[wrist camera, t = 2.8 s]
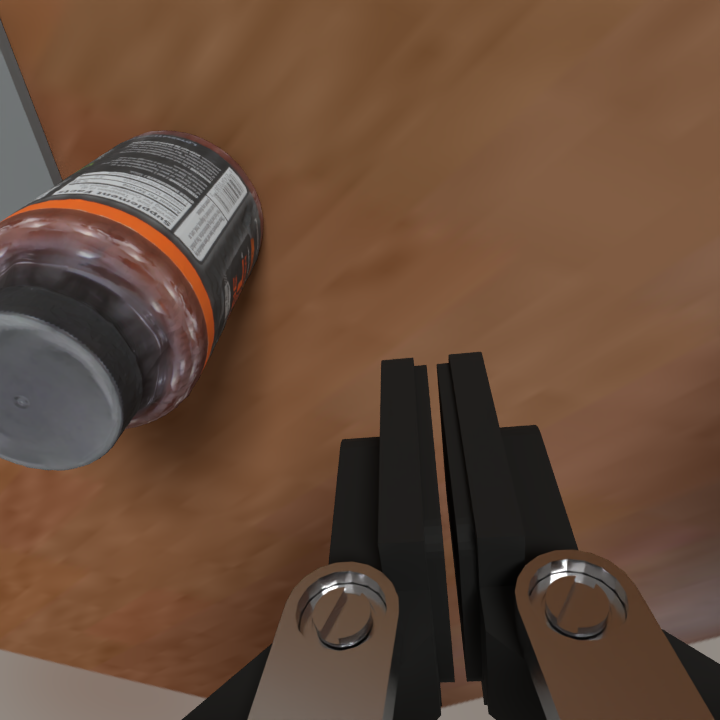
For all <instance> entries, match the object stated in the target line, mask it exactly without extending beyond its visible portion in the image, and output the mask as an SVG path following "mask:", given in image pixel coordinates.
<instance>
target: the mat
mask: <svg viewBox="0 0 720 720" xmlns="http://www.w3.org/2000/svg"><path fill="white" fill-rule="evenodd" d="M61 181H62V179H61V176H60V173H59V171H58V168H57V166H56V163H55V160H54V158H53V155H52V153H51V150H50V147H49V145H48V142H47V140H46V137H45V134H44V132H43V129H42V127H41V124H40V121H39V119H38V116H37V114H36V111H35V108H34V106H33V103H32V101H31V98H30V95H29V93H28V90H27V88H26V85H25V82H24V80H23V77H22V75H21V72H20V69H19V67H18V64H17V62H16V59H15V56H14V54H13V51H12V48H11V46H10V43H9V41H8V38H7V35H6V33H5V30H4V28H3V25H2V22H1V20H0V222H1V221H3V220H4V219H6V218H7V217H9V216H10V215H11V214H13V213H14V212H16V211H17V210H19V209H21V208H22V207H24V206H25V205H27V204H28V203H30V202H31V201H33V200H34V199H36V198H37V197H39V196H40V195H42V194H43V193H45V192H46V191H48V190H49V189H51V188H52V187H54V186H55V185H57V184H59V183H60V182H61Z"/></svg>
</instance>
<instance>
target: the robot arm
mask: <svg viewBox="0 0 720 720" xmlns="http://www.w3.org/2000/svg"><path fill="white" fill-rule="evenodd" d="M437 376H438V389H439V403H440V416H441V429H442V442H443V456H444V469H445V482H446V494H447V504H448V513H449V522H450V531H451V540H452V550H453V559H454V568H455V577H456V586H457V596H458V605H459V614H460V623H461V632H462V642H463V651H464V660H465V669H466V678H467V682H468V681H481V683H482V690H483V698H484V705H488V712H489V714H490V715H491V716H492V717H493V718H495V719H496V720H720V664H719V663H717V662H715V661H714V660H712V659H710V658H709V657H707V656H705V655H704V654H702V653H700V652H699V651H697V650H695V649H694V648H692V647H690V646H689V645H687V644H686V643H684V642H682V641H681V640H679V639H677V638H676V637H674V636H672V635H671V634H669V633H667V632H666V631H664V630H662V629H661V628H660V626H659V624H658V622H657V621H656V619H655V617H654V616H653V614H652V612H651V611H650V609H649V607H648V605H647V604H646V602H645V600H644V599H643V597H642V595H641V594H640V592H639V590H638V588H637V587H636V585H635V584H634V583H633V582H632V580H631V579H630V578H629V577H628V576H627V574H626V573H625V572H624V571H623V570H621V569H620V568H618V567H617V566H616V565H614V564H613V563H612V562H610V561H609V560H606V559H604V558H602V557H600V556H597V555H595V554H593V553H589V552H583V551H579V550H578V547H577V544H576V541H575V538H574V535H573V532H572V529H571V526H570V523H569V520H568V516H567V513H566V510H565V507H564V504H563V501H562V498H561V495H560V492H559V489H558V486H557V482H556V479H555V476H554V473H553V470H552V467H551V464H550V461H549V458H548V455H547V452H546V448H545V445H544V442H543V439H542V436H541V433H540V431H539V428H538V427H537V426H536V425H529V426H516V427H502V428H500V427H499V423H498V419H497V415H496V411H495V407H494V402H493V398H492V394H491V390H490V386H489V381H488V377H487V373H486V369H485V365H484V360H483V356H482V353H481V352H473V353H461V354H450V355H449V363H444V364H437ZM440 682H455V679H454V667H453V655H452V643H451V631H450V619H449V607H448V595H447V583H446V571H445V559H444V548H443V536H442V525H441V514H440V504H439V493H438V483H437V472H436V461H435V451H434V440H433V429H432V419H431V408H430V397H429V387H428V376H427V366H426V365H421V366H414V360H413V358H404V359H393V360H382V361H381V404H380V437H369V438H356V439H343V440H342V442H341V447H340V455H339V465H338V475H337V485H336V495H335V505H334V515H333V525H332V535H331V545H330V555H329V565H327V566H324V567H321V568H318V569H317V570H315V571H314V572H312V573H310V574H309V575H307V576H305V577H304V578H303V579H302V580H301V581H300V582H299V584H298V585H297V586H296V587H295V588H294V589H293V590H292V592H291V594H290V596H289V598H288V600H287V602H286V604H285V607H284V610H283V613H282V616H281V619H280V622H279V625H278V628H277V631H276V635H275V638H274V641H273V643H272V644H271V645H270V646H269V647H267V648H266V649H265V650H264V651H263V652H261V653H260V654H259V655H258V656H257V657H256V658H254V659H253V660H252V661H251V662H250V663H248V664H247V665H246V666H245V667H244V668H242V669H241V670H240V671H239V672H238V673H237V674H235V675H234V676H233V677H232V678H231V679H229V680H228V681H227V682H226V683H225V684H223V685H222V686H221V687H220V688H219V689H218V690H216V691H215V692H214V693H213V694H212V695H210V696H209V697H208V698H207V699H206V700H205V701H203V702H202V703H201V704H200V705H199V706H197V707H196V708H195V709H194V710H193V711H191V712H190V713H189V714H188V715H187V716H186V717H184V718H183V719H182V720H437V719H438V718H439V717H440V716H441V706H442V702H441V688H440Z"/></svg>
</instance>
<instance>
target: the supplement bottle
mask: <svg viewBox="0 0 720 720" xmlns="http://www.w3.org/2000/svg"><path fill="white" fill-rule="evenodd" d="M262 235H263V216H262V211H261V203H260V200H259V198H258V195H257V193H256V190H255V188H254V186H253V184H252V183H251V181H250V180H249V178H248V177H247V175H246V174H245V172H244V171H243V170H242V168H241V167H240V166H239V164H237V163H236V162H235V161H234V160H233V158H232V157H231V156H230V155H228V154H227V153H226V152H224V151H223V150H222V149H220V148H219V147H217V146H216V145H214V144H212V143H211V142H208V141H206V140H205V139H202V138H200V137H197V136H194V135H191V134H188V133H183V132H177V131H151V132H147V133H144V134H141V135H138V136H135V137H133V138H131V139H129V140H127V141H125V142H122V143H120V144H119V145H117V146H115V147H114V148H112V149H111V150H110V151H108V152H106V153H105V154H103V155H102V156H100V157H98V158H97V159H95V160H94V161H92V162H91V163H89V164H88V165H86V166H85V167H83V168H82V169H80V170H79V171H77V172H75V173H74V174H72V175H71V176H69V177H68V178H66V179H65V180H63V181H61V182H60V183H59V184H57V185H55V186H54V187H52V188H51V189H49V190H48V191H46V192H45V193H43V194H42V195H40V196H39V197H37V198H36V199H34V200H33V201H31V202H30V203H28V204H27V205H25V206H24V207H22V208H21V209H19V210H17V211H16V212H14V213H13V214H11V215H10V216H9V217H7V218H6V219H4V220H3V221H1V222H0V458H2V459H5V460H8V461H10V462H13V463H16V464H19V465H23V466H26V467H29V468H36V469H43V470H69V469H74V468H78V467H81V466H85V465H88V464H90V463H92V462H94V461H95V460H97V459H99V458H101V457H102V456H103V455H105V454H106V453H107V452H108V451H109V450H110V449H111V448H112V447H113V446H114V444H115V443H116V441H117V440H118V438H119V437H120V435H121V434H122V433H123V431H124V430H125V429H127V428H132V427H138V426H140V425H143V424H147V423H149V422H151V421H154V420H157V419H158V418H160V417H162V416H165V415H166V414H168V413H169V412H170V411H172V410H173V409H174V408H176V407H177V406H178V405H179V404H180V403H181V402H182V401H183V399H185V398H186V397H188V396H189V394H190V392H191V390H192V388H193V387H194V385H195V384H196V382H197V381H198V379H199V378H200V375H201V373H202V371H203V369H204V367H205V365H206V362H207V361H208V359H209V358H210V356H211V354H212V352H213V349H214V347H215V345H216V343H217V342H218V339H219V337H220V335H221V333H222V331H223V329H224V327H225V324H226V321H227V320H228V318H229V316H230V314H231V311H232V309H233V307H234V305H235V303H236V301H237V299H238V298H239V295H240V293H241V291H242V289H243V286H244V284H245V282H246V280H247V278H248V277H249V276H250V274H251V271H252V268H253V267H254V265H255V262H256V260H257V257H258V253H259V249H260V246H261V242H262Z"/></svg>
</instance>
